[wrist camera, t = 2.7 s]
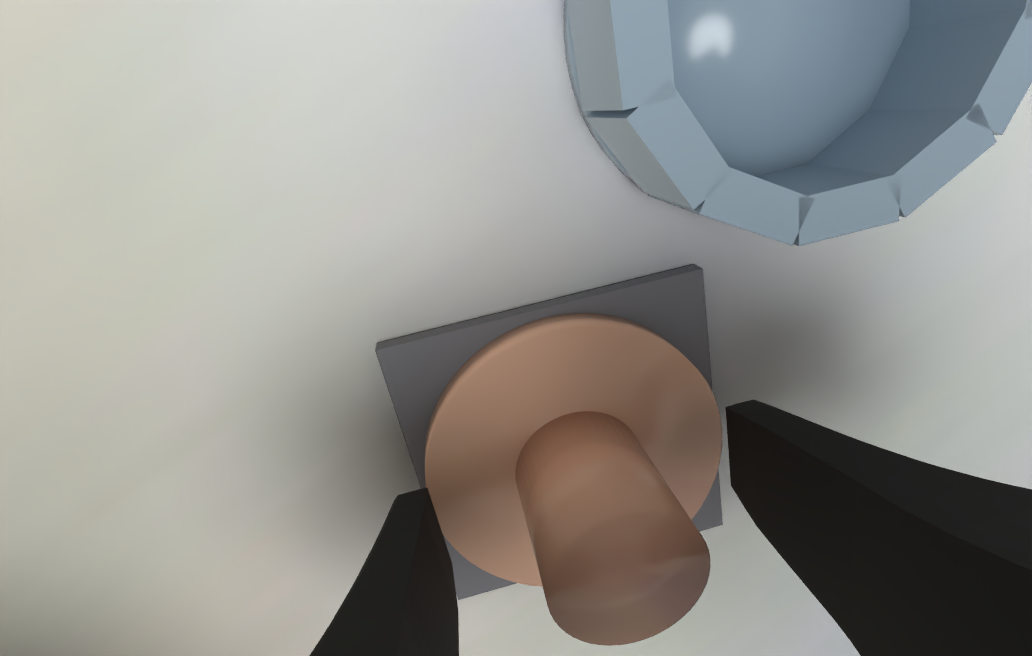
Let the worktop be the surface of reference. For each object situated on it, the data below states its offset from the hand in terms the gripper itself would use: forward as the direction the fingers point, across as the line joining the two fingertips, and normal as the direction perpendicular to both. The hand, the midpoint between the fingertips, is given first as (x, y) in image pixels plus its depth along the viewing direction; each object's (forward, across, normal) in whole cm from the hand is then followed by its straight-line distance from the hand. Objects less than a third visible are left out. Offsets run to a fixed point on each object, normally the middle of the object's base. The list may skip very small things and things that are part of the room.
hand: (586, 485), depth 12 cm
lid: (+1, 0, 0) cm, 1 cm away
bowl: (+2, -5, -8) cm, 10 cm away
